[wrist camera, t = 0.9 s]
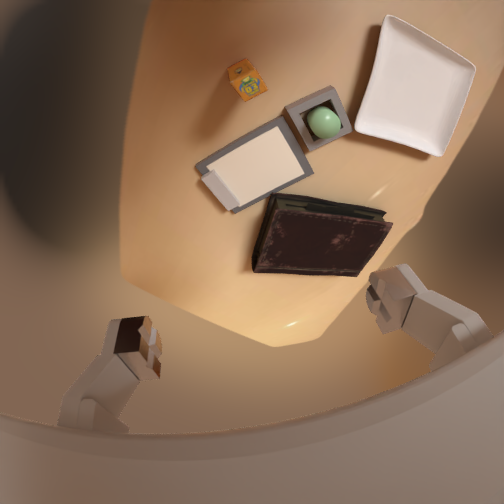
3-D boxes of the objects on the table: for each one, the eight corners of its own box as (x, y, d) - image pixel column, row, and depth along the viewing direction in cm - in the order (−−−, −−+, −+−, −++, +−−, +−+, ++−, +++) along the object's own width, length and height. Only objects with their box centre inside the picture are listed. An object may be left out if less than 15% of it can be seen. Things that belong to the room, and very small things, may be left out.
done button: (327, 101, 36) (334, 107, 34) (338, 124, 39) (344, 131, 37) (302, 113, 38) (307, 119, 36) (313, 135, 41) (319, 143, 39)
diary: (349, 263, 67) (355, 280, 63) (250, 257, 61) (253, 276, 58) (386, 206, 53) (396, 222, 50) (272, 187, 48) (277, 205, 44)
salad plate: (345, 125, 41) (353, 133, 38) (375, 11, 26) (386, 11, 24) (433, 151, 44) (442, 159, 42) (465, 61, 29) (477, 66, 27)
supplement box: (238, 86, 35) (242, 104, 28) (226, 68, 33) (227, 80, 26) (259, 76, 34) (269, 90, 27) (247, 57, 32) (254, 65, 25)
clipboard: (281, 114, 39) (284, 118, 38) (313, 171, 47) (316, 177, 45) (194, 164, 44) (193, 170, 43) (234, 211, 52) (234, 218, 50)
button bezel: (330, 85, 35) (334, 88, 34) (348, 126, 41) (353, 131, 39) (284, 106, 38) (287, 110, 37) (306, 146, 43) (309, 151, 42)
